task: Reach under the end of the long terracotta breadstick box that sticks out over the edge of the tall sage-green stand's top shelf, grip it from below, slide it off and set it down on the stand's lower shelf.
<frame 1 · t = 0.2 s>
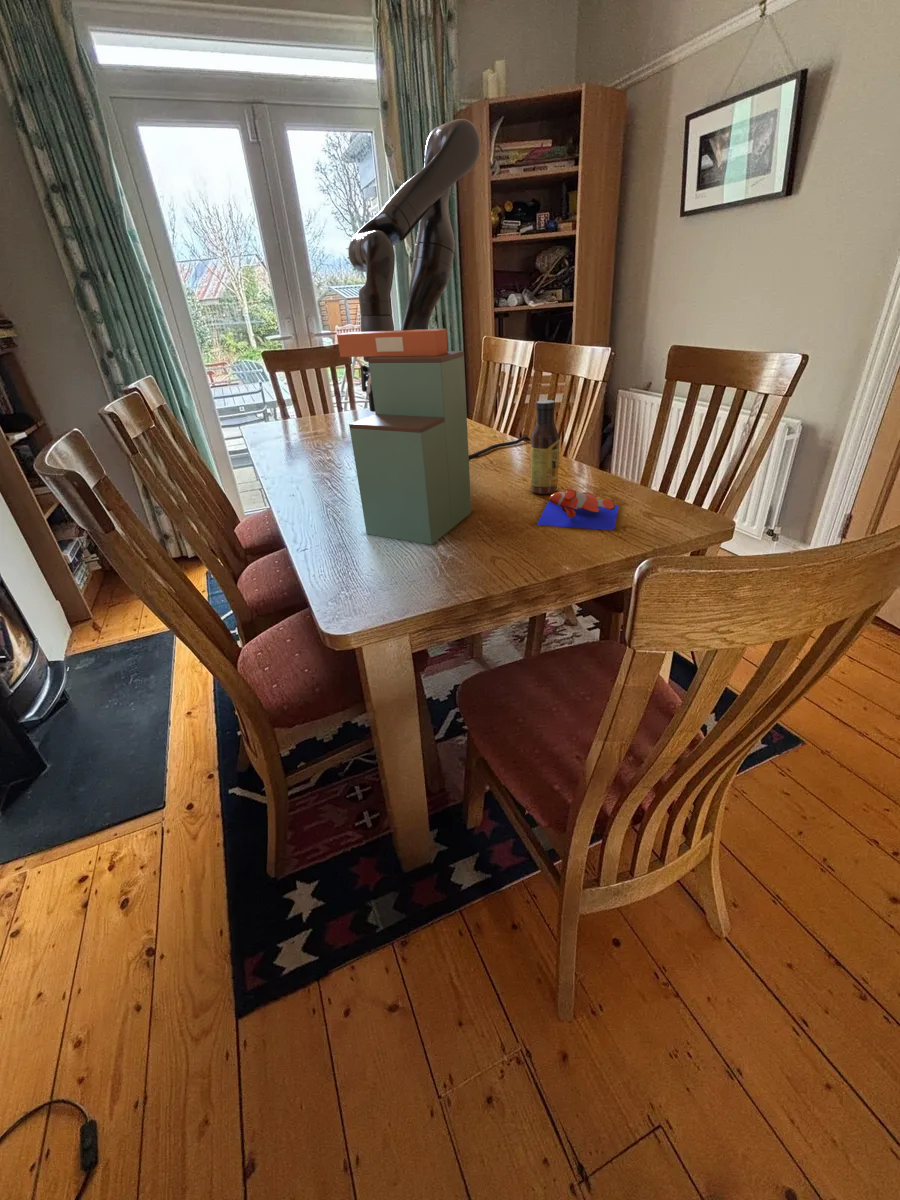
hand: (384, 413, 128), 17 cm above the table, tool pointing down, fingers open, 8 cm apart
breadstick box: (392, 355, 101), point 32 cm above the table, touching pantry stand
sauce bottle: (543, 491, 124), on the table
fish: (578, 515, 110), on the table
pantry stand: (400, 511, 118), on the table
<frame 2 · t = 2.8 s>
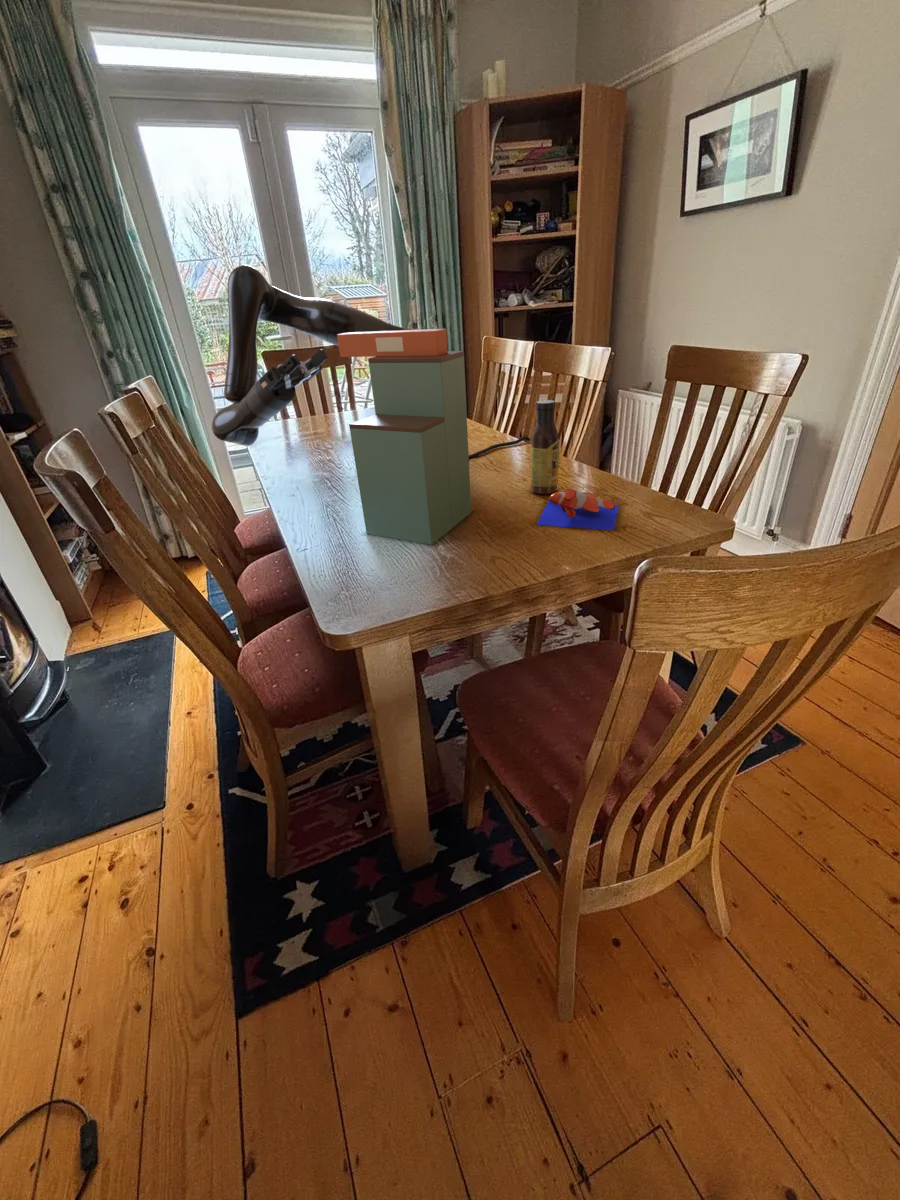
hand: (311, 355, 109), 32 cm above the table, tool pointing upward, fingers open, 8 cm apart
nothing on the table moved.
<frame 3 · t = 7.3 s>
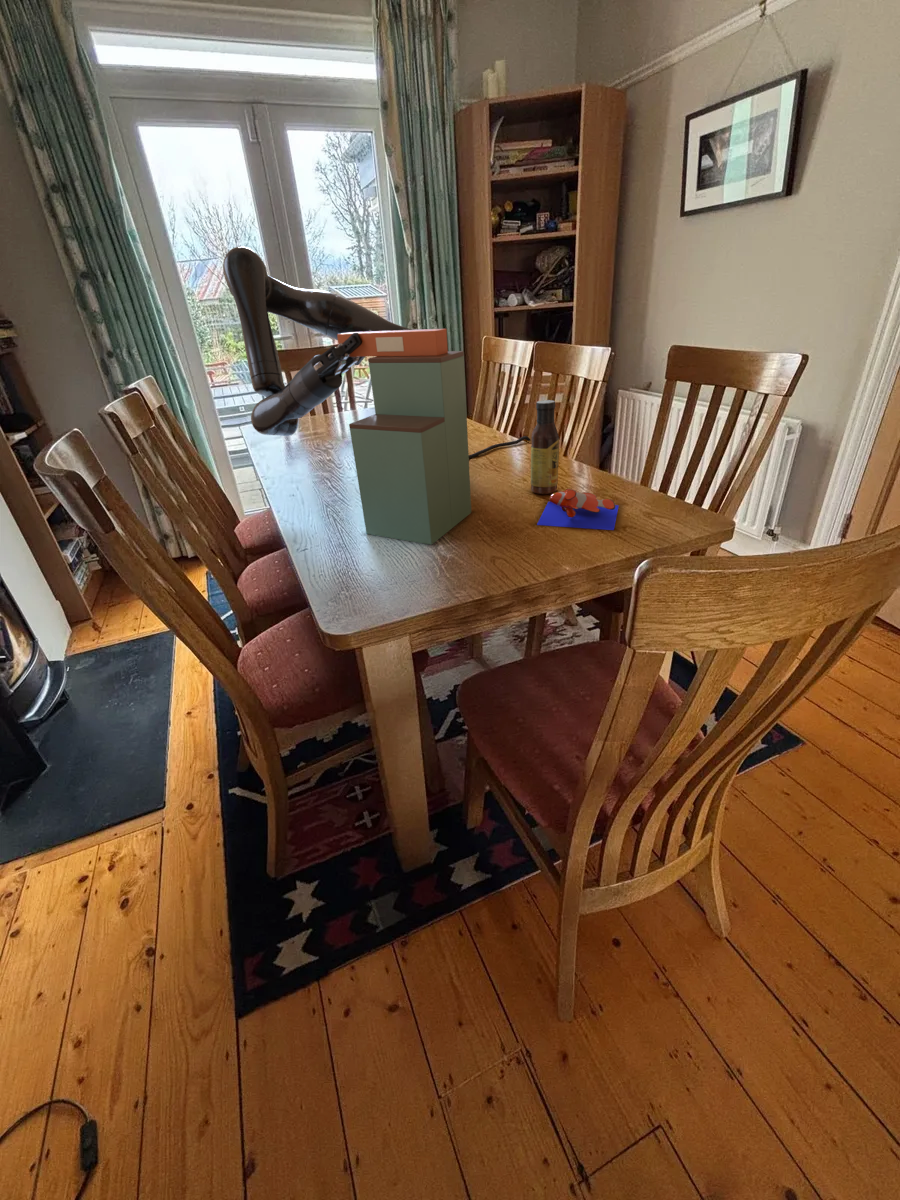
hand: (366, 336, 101), 35 cm above the table, tool pointing upward, fingers closed on breadstick box, 4 cm apart
breadstick box: (392, 354, 101), point 32 cm above the table, touching gripper, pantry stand
everything else where it was.
when the fingers open (25 cm above the table, at t = 17.9 s): breadstick box stays where it is, resting on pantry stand.
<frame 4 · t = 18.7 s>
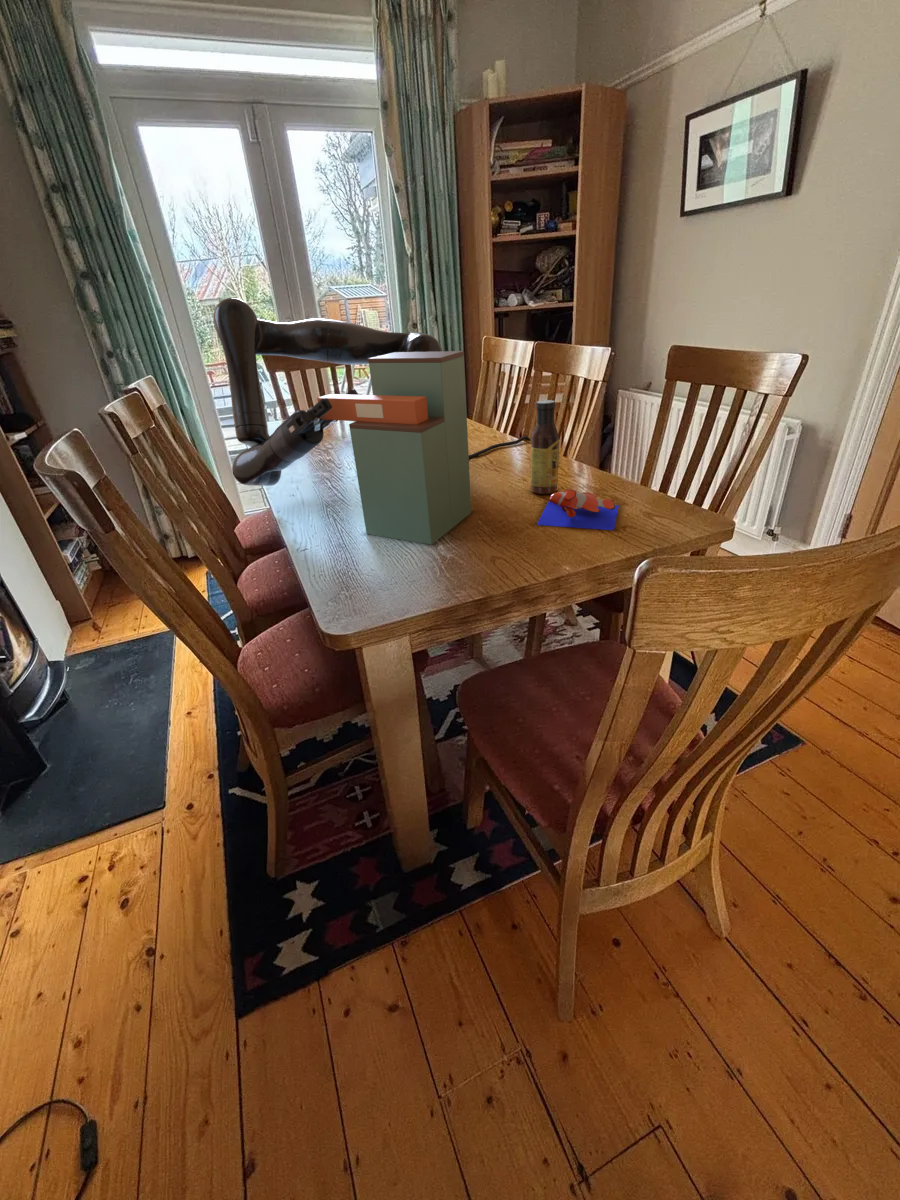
hand: (342, 397, 100), 26 cm above the table, tool pointing upward, fingers open, 8 cm apart
breadstick box: (372, 419, 99), point 22 cm above the table, touching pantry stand
everything else where it was.
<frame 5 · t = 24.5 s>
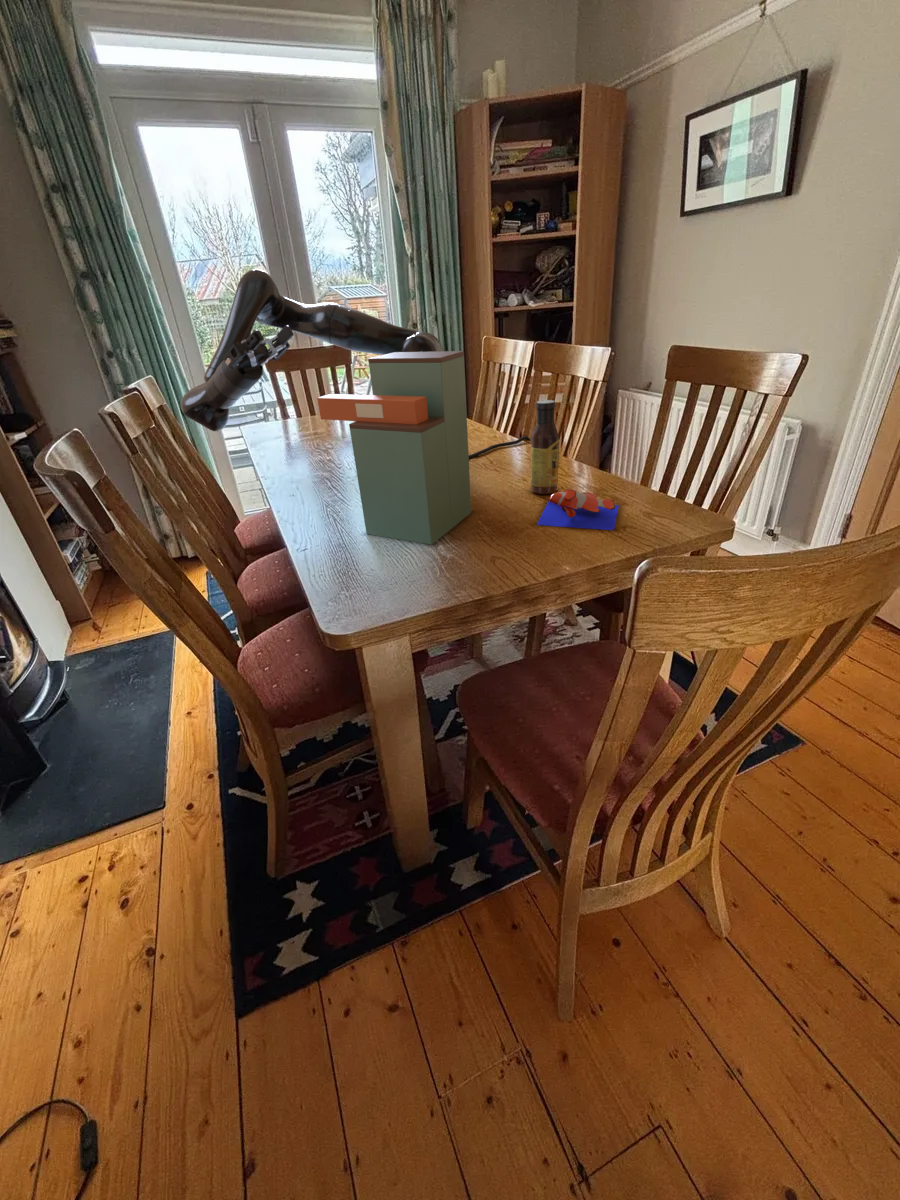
hand: (275, 331, 107), 37 cm above the table, tool pointing upward, fingers open, 8 cm apart
nothing on the table moved.
at the end: breadstick box inside the target area (0.2 cm from its centre), point 22.0 cm above the table; breadstick box tilted 0°; the gripper is holding nothing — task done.
